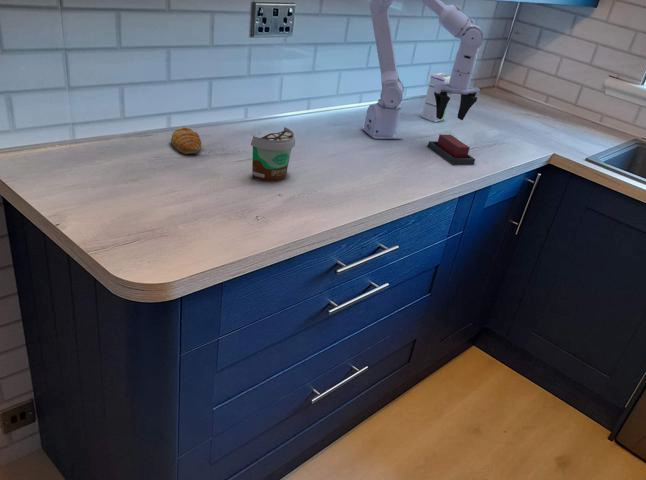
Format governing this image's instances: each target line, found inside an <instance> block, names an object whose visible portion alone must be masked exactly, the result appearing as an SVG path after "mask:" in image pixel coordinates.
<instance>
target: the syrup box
mask: <svg viewBox="0 0 646 480" xmlns="http://www.w3.org/2000/svg"><path fill="white" fill-rule="evenodd" d="M450 77H451V75H450V74H448V73H447V74H446V73H444V72H437V73H432V74H430V77H429V81H428V86H427V90H426V95H425V99H424V104H423V108H422V113H421V118H422V119H425V120H428V121H429V122H433V123H437V122H440V121H444V119H445V114H446V112H447V111H446V110H447V106H448V105H447V106H446V108H445V111H444V115H443V118H442V119H438V118H437V117H436V100H435V95H434V89H435V85H436V84H437V85H440V84H449V81H450ZM447 95H448V97H450V93H447Z"/></svg>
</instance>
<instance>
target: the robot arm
mask: <svg viewBox="0 0 646 480" xmlns="http://www.w3.org/2000/svg"><path fill="white" fill-rule="evenodd" d="M393 2H394V0H371V1H370V4H369V11H370V16H371V23H372V30H373V35H374V41H375V47H376V53H377V58H378V64H379V70H380V79H381V80H380V81H381V92H380V98H379V99H378V100H377V102H376V103H373V104H369V106H368V107H367V109H366V114H365V120H364V124H363V127H362V128H361V129H362V130H363V131H364V132H365V133H366V134H368V135H369V136H370V137H371V138H373V139H374V140H378V139H379V140H401V139H402V137H401V136H400V135H399V134H397V131H398V126H399V122H400V117H401V112H402V109H403V104H402V101H403V98H404V95H403V94H404V91H405V88H404V84H403V82H402V81H401V80H400V77H399V72H398V67H397V62H396V53H395V48H394V41H393V36H392V29H391V21H390V16H389V15H390V14H389V8H390V6H391V5H392V3H393ZM419 2H421V3H422V4H423V5H424V6H425V7H427V9H429V10H431V11H432V12H433V13H434V14H435V15H437V17H438V24H439V25H440V26H442V28H444V29H445V30H446V31H447V32H448V33H449V34H451V35H452V36H453V37H454V38H455V39H460V42H459V46H458V50H457V51H456V55H455V57H454V62H453V65H452V69H451V73H450V76H451V77H450V81H449V84H440V85H437V84H436V85H435V89H434V95H435V100H436V117H437V118H438V119H442V118H443V115H444V111H445V108H446V109H447V107H446V106H448V104H449V101H450V100H451V97H450V96H449V97H448V95H447V93H450V94H453V95H454V94H455V95H460V101H459V109H458V112H457V119H459V120H460V121H464V119H465V117H466V116H467V114H468V112H469V110H470V109H471V108H472V106H474V104H475V103H476V102H477V101H478V96H480V92H481V89H480V88H479V87H477V86H470V83H471V80H472V77H473V73H474V69H475V66H476V63H477V59H478V53H479V50H480V47H482V45H483V43H484V32H483V31H482V29H481V27H480V26H479V24H478V23H475V20H474V19H473V18H469V17H468V16H467V15H465V14H464V13H463V12H462V8H461V7H460V6H459V5H456V6H455V5H454V4H445V3H444V2H443V1H441V0H419ZM445 112H446V111H445ZM444 116H445V115H444Z"/></svg>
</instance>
